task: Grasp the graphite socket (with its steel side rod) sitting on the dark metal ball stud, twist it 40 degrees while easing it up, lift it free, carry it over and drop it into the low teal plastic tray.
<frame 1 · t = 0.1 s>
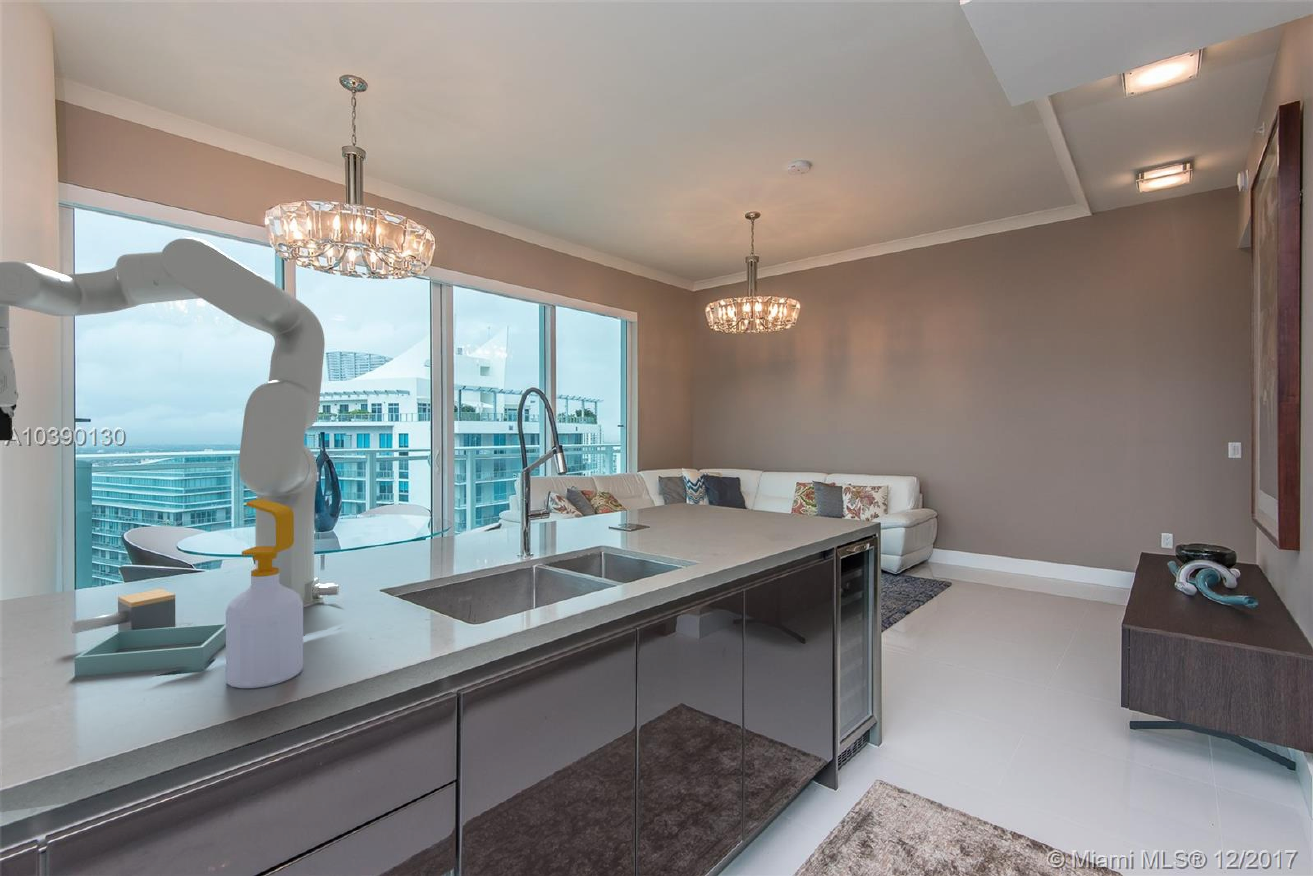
bin: (159, 662, 89), on the worktop
soap bottle: (265, 677, 85), on the worktop
stud: (147, 640, 98), on the worktop
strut: (147, 634, 98), point 1 cm above the worktop, touching stud
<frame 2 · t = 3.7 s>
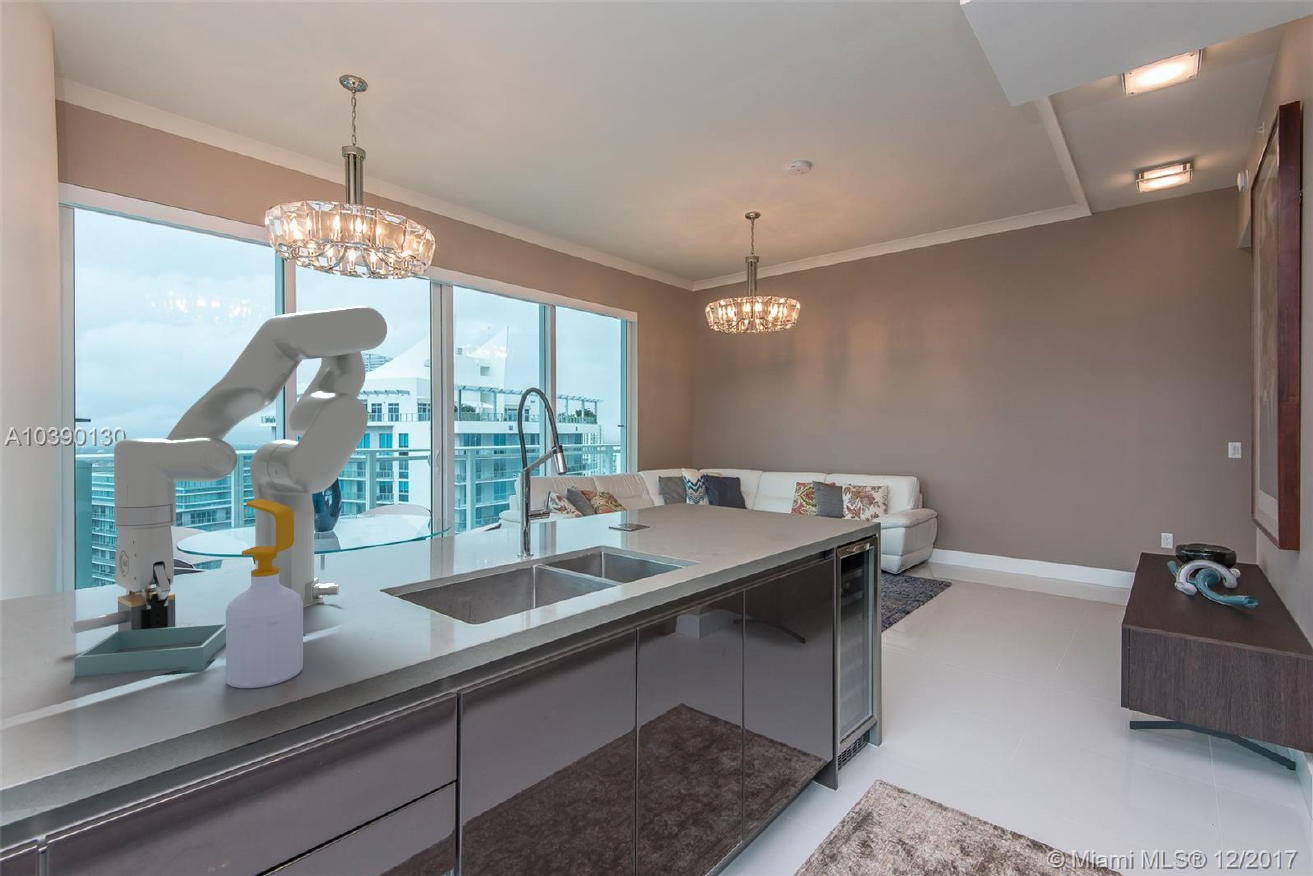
hand: (146, 627, 97), 2 cm above the worktop, fingers closed on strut, 5 cm apart
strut: (147, 634, 98), point 1 cm above the worktop, touching gripper, stud
everything else where it was.
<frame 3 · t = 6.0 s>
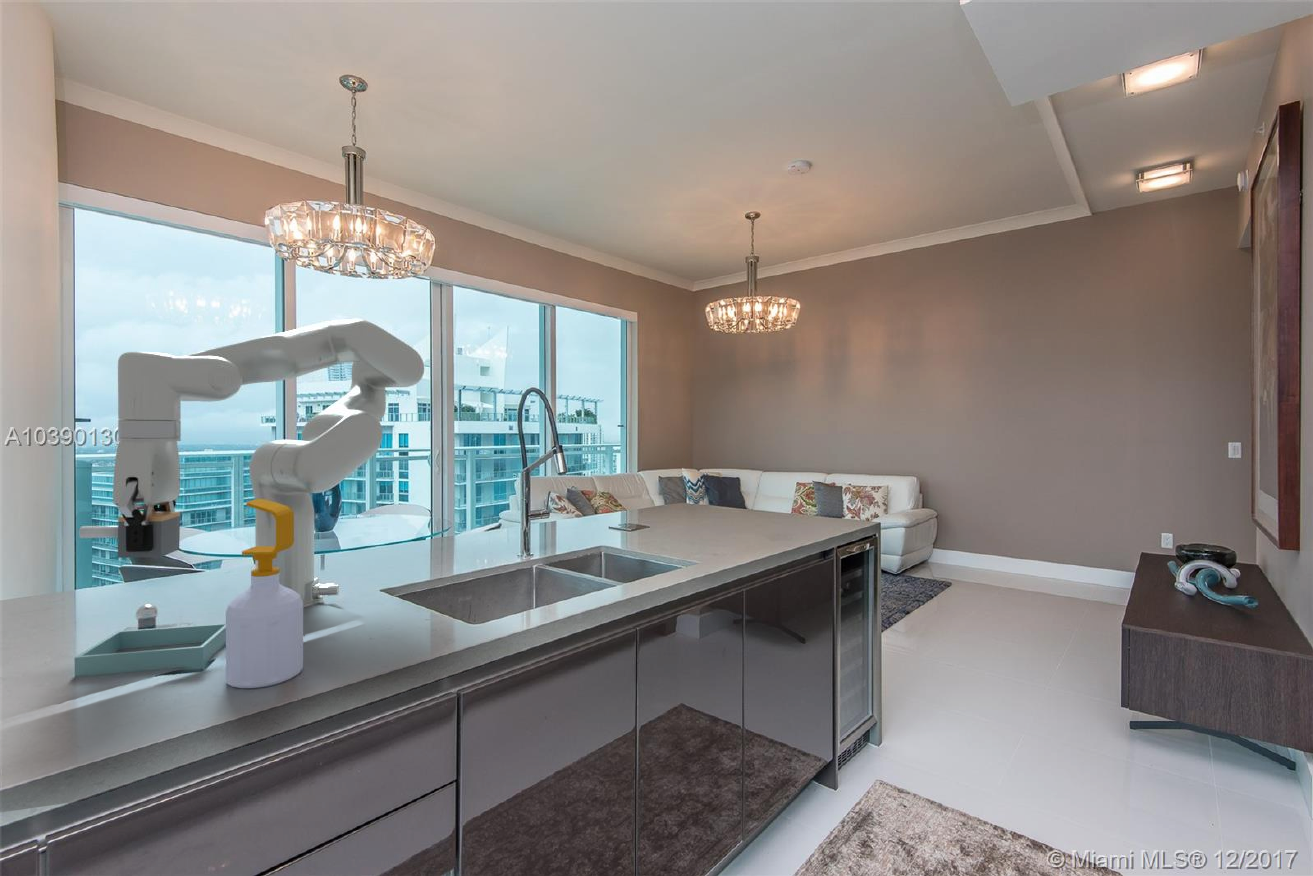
hand: (150, 545, 96), 15 cm above the worktop, fingers closed on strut, 5 cm apart
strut: (149, 553, 96), point 14 cm above the worktop, touching gripper
everything else where it was.
when the fingers open (4 cm above the worktop, at t = 8.3 s): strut drops 2 cm, resting on bin.
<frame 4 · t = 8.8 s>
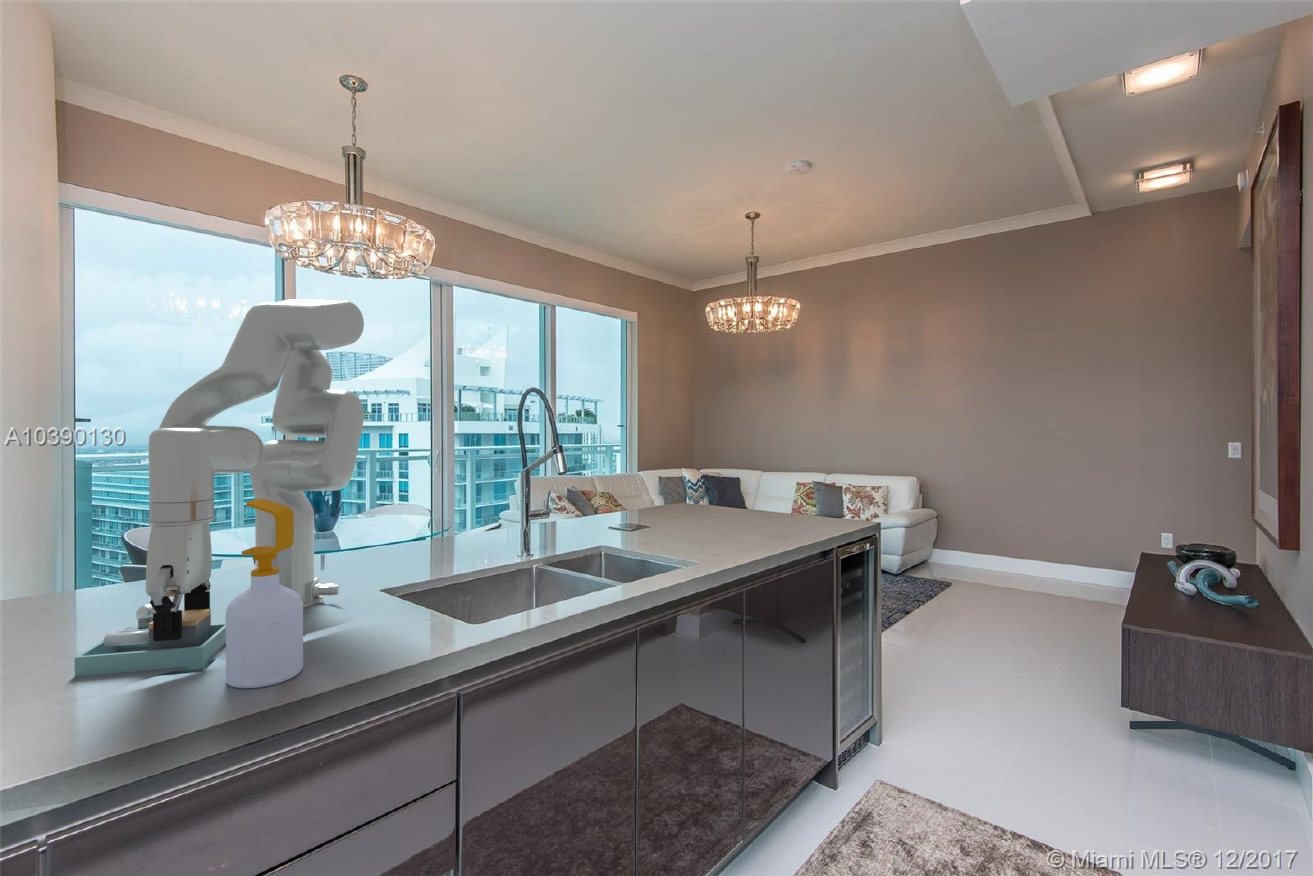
hand: (183, 628, 90), 5 cm above the worktop, fingers open, 9 cm apart
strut: (181, 658, 89), resting on bin
everything else where it was.
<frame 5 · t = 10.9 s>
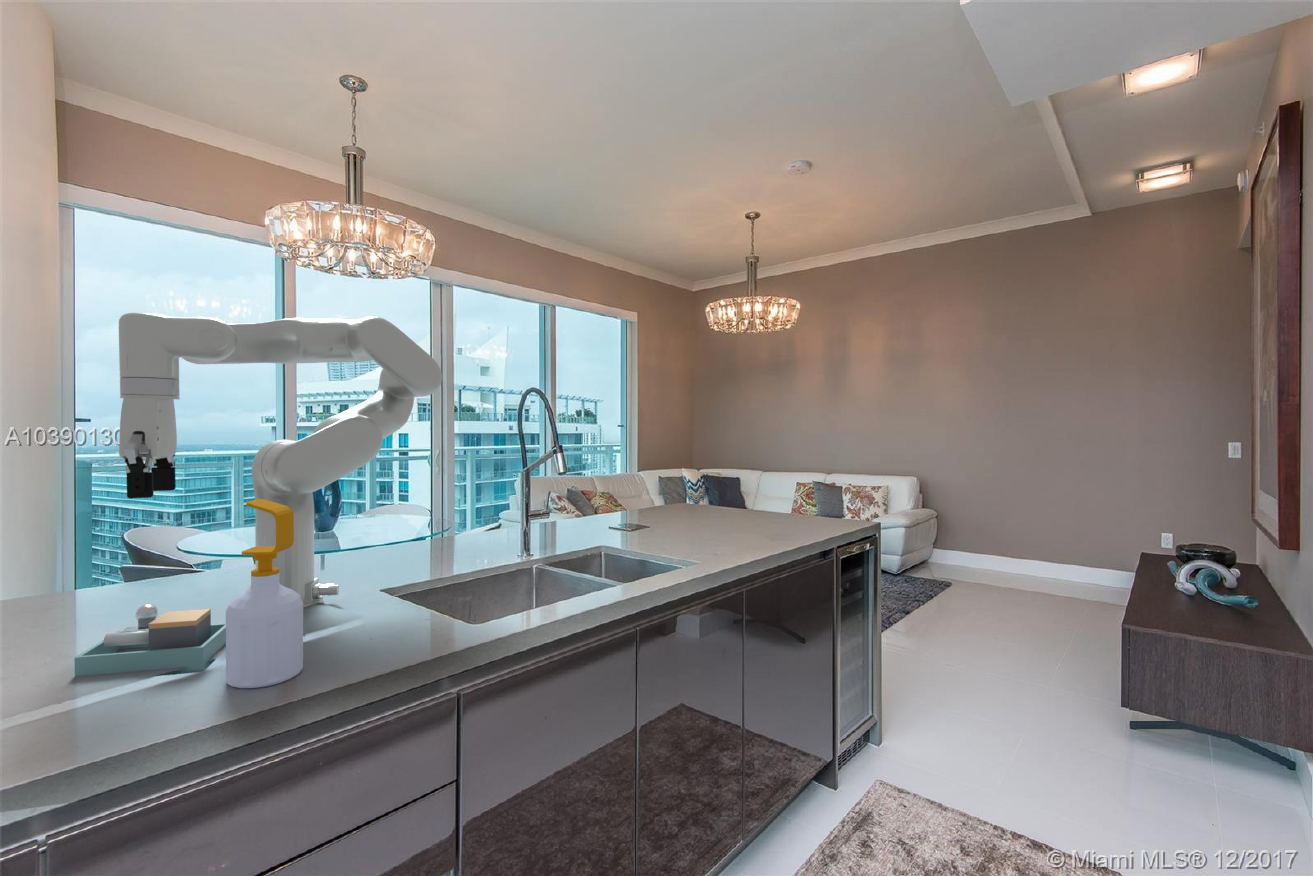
hand: (152, 493, 101), 23 cm above the worktop, fingers open, 9 cm apart
nothing on the worktop moved.
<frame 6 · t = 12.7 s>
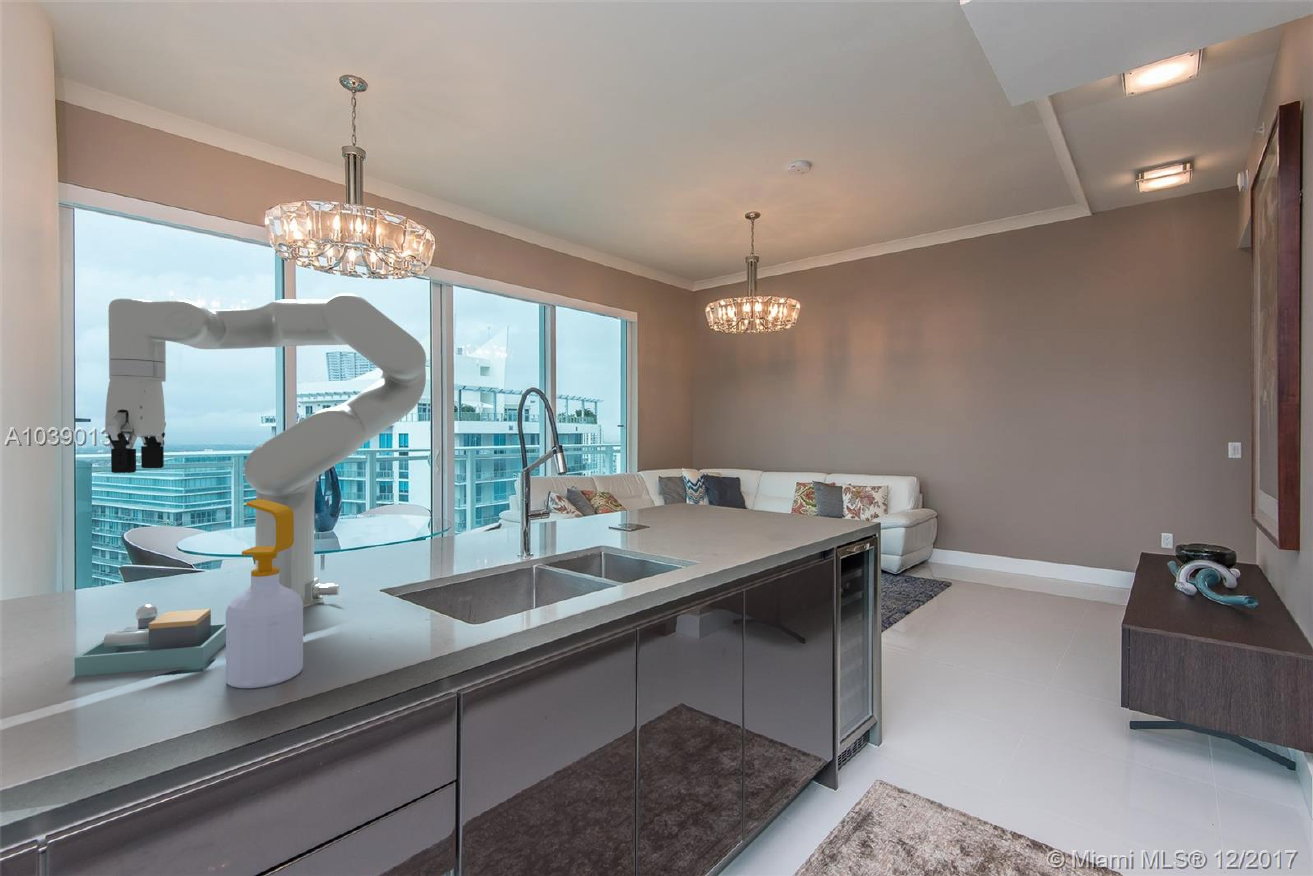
hand: (138, 470, 106), 26 cm above the worktop, fingers open, 9 cm apart
nothing on the worktop moved.
at the end: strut inside the target area on the bin (2.8 cm from its centre), point 0.5 cm above the bin's base; the gripper is holding nothing; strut moved 14.3 cm from its start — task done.
